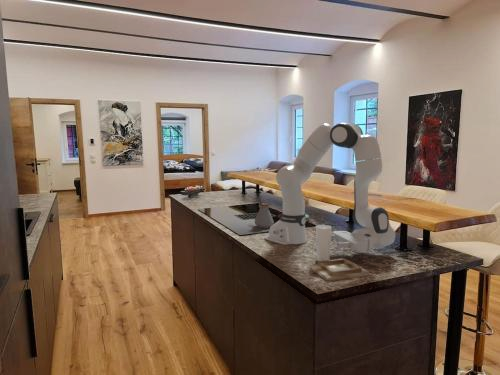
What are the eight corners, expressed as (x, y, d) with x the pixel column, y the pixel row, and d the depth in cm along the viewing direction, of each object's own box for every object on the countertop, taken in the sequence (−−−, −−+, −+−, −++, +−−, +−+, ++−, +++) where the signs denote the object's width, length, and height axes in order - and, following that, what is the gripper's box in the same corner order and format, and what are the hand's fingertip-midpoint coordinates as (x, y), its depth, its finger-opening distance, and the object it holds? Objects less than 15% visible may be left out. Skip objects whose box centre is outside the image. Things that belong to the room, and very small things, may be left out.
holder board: (310, 268, 147) (310, 261, 147) (349, 263, 152) (349, 256, 152) (327, 280, 134) (327, 273, 134) (369, 275, 139) (369, 268, 139)
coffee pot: (275, 228, 211) (275, 203, 209) (256, 229, 209) (256, 203, 207) (268, 220, 232) (268, 197, 229) (250, 221, 230) (250, 197, 228)
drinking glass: (313, 262, 154) (314, 228, 151) (316, 257, 160) (317, 224, 158) (329, 264, 151) (330, 229, 149) (332, 259, 157) (332, 225, 155)
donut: (288, 219, 235) (288, 213, 234) (307, 218, 236) (307, 212, 235) (292, 223, 223) (292, 217, 222) (311, 223, 224) (311, 216, 223)
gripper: (347, 226, 169) (321, 228, 165) (374, 238, 150) (345, 241, 146) (347, 239, 170) (320, 242, 166) (374, 252, 150) (344, 256, 147)
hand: (332, 241), depth 156 cm, fingers open, 8 cm apart
